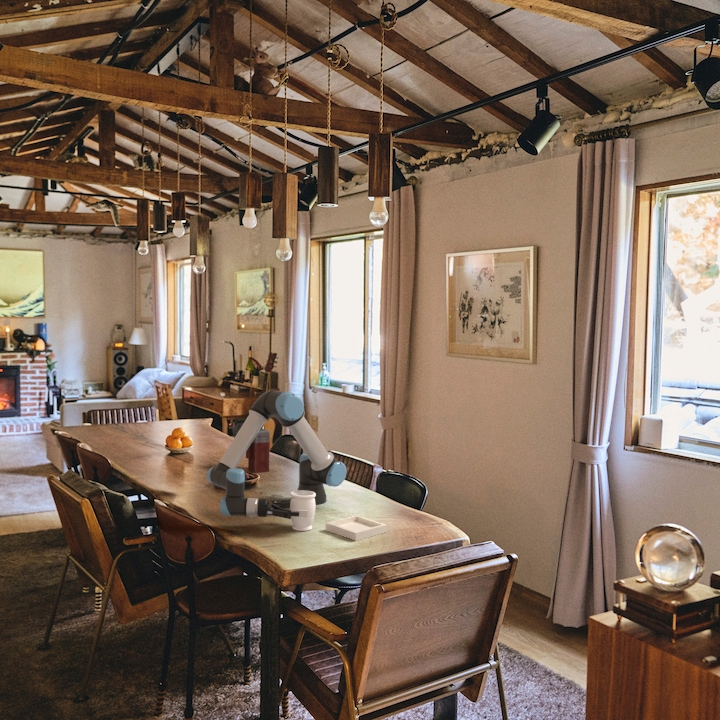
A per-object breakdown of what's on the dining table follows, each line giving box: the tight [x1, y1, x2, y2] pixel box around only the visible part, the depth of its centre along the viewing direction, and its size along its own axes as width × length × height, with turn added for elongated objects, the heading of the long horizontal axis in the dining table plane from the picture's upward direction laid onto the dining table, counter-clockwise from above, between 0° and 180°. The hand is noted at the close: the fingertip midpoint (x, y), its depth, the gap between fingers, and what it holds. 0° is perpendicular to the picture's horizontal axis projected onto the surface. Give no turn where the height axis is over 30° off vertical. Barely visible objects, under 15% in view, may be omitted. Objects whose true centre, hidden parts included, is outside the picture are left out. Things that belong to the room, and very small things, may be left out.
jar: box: [289, 490, 317, 532], centre depth 293 cm, size 11×10×15 cm
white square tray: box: [325, 514, 388, 542], centre depth 292 cm, size 18×18×3 cm
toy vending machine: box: [245, 425, 271, 474], centre depth 396 cm, size 9×11×28 cm
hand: (309, 509), depth 293 cm, fingers open, 13 cm apart
